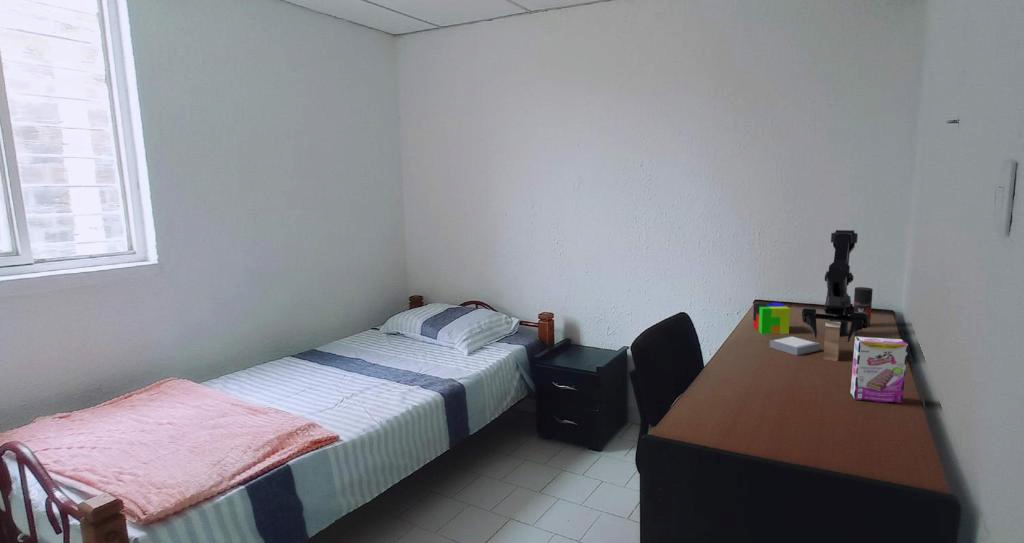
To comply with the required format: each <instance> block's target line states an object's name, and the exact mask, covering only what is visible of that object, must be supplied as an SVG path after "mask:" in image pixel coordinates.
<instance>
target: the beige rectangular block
mask: <svg viewBox="0 0 1024 543" xmlns="http://www.w3.org/2000/svg"><path fill="white" fill-rule="evenodd" d="M840 325H841V322H832V321H829V320H826V321H825V325H824V326H825V327H824V341H823V342H824V344H823V345H824V346H823V360H826V361H832V362H833V361H834V362H839V361H838V360H839V358H840V357H839V354H840V353H839V352H840V340H841V338H840V337H841V336H840Z"/></svg>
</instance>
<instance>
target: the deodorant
mask: <svg viewBox="0 0 1024 543" xmlns="http://www.w3.org/2000/svg"><path fill="white" fill-rule="evenodd" d="M853 295H854V296H853V297H854V298H853V307H854V308H855V312H863V313H867V314H868V324H867V328H870V327H871V317H872V305H873V304H872V302H873V288H871V287H866V286H865V287H864V286H860V287H859V286H858V287H854V294H853Z"/></svg>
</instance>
